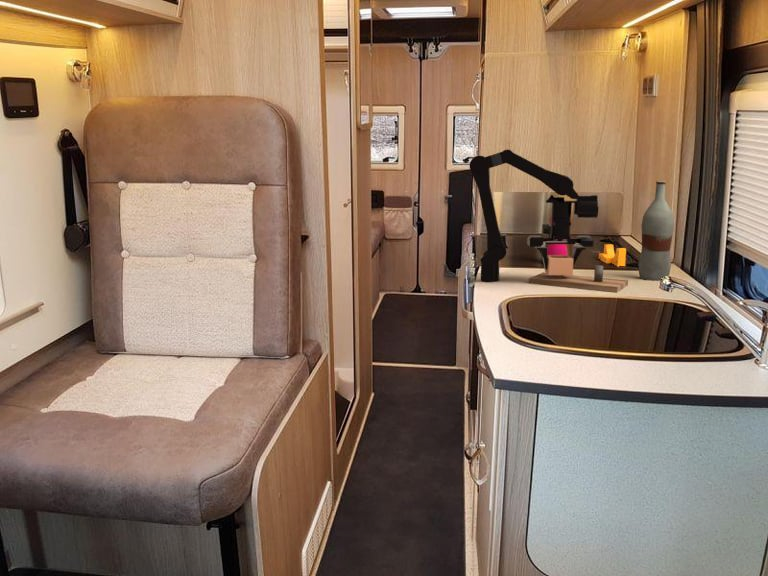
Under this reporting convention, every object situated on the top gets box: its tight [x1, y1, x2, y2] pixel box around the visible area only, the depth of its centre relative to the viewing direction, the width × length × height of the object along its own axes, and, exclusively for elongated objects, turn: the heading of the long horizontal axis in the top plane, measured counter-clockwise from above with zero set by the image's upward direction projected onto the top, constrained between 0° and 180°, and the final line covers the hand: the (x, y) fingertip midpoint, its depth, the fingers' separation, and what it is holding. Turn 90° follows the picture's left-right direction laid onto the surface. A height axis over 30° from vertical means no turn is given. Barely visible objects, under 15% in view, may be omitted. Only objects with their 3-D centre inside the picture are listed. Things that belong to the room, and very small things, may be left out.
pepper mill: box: [546, 216, 568, 255], centre depth 218 cm, size 7×7×20 cm
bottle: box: [637, 180, 675, 281], centre depth 192 cm, size 9×9×30 cm
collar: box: [544, 254, 574, 275], centre depth 189 cm, size 7×7×5 cm
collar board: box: [528, 264, 629, 293], centre depth 186 cm, size 12×26×6 cm, turn 56°
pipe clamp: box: [598, 243, 627, 268], centre depth 221 cm, size 12×4×6 cm, turn 4°
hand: (558, 269), depth 189 cm, fingers open, 7 cm apart
